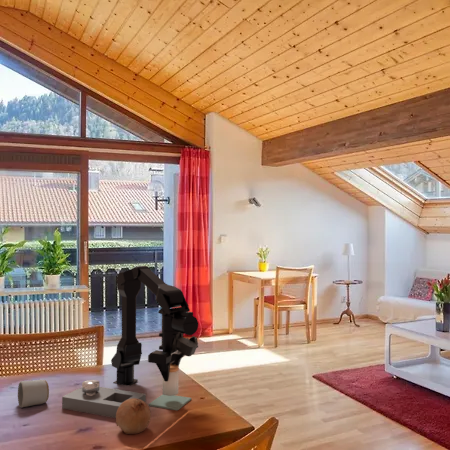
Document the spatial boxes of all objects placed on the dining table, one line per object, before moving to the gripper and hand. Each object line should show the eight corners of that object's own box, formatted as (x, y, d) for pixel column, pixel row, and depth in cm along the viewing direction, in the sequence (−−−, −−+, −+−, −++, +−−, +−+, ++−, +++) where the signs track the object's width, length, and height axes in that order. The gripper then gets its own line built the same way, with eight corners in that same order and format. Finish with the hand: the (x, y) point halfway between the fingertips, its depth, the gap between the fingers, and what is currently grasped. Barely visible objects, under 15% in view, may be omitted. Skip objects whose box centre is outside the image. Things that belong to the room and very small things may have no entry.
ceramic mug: (50, 405, 156) (50, 380, 156) (22, 410, 152) (22, 385, 152) (40, 395, 165) (40, 372, 165) (14, 400, 160) (14, 376, 160)
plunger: (88, 400, 160) (88, 379, 159) (102, 402, 158) (102, 381, 158) (78, 406, 155) (78, 384, 155) (92, 408, 153) (92, 386, 153)
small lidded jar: (166, 389, 162) (167, 363, 162) (181, 391, 160) (181, 365, 160) (159, 394, 157) (159, 367, 157) (173, 396, 155) (174, 369, 155)
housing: (86, 396, 164) (86, 384, 164) (145, 406, 156) (145, 393, 156) (62, 409, 153) (62, 396, 153) (124, 421, 145) (124, 407, 145)
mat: (163, 396, 165) (163, 393, 165) (191, 400, 161) (191, 397, 161) (148, 407, 156) (148, 404, 156) (177, 412, 152) (177, 408, 152)
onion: (143, 445, 136) (154, 417, 133) (109, 439, 134) (119, 410, 131) (145, 420, 145) (155, 393, 142) (113, 413, 143) (123, 385, 140)
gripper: (180, 338, 147) (180, 391, 147) (206, 325, 164) (205, 373, 164) (147, 334, 151) (146, 386, 151) (175, 322, 168) (174, 369, 168)
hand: (170, 378), depth 158 cm, fingers closed on small lidded jar, 5 cm apart
